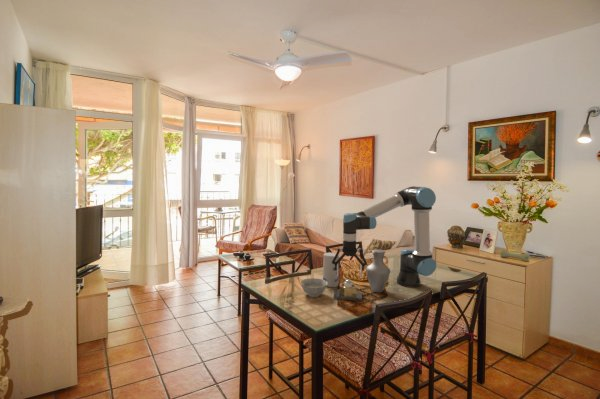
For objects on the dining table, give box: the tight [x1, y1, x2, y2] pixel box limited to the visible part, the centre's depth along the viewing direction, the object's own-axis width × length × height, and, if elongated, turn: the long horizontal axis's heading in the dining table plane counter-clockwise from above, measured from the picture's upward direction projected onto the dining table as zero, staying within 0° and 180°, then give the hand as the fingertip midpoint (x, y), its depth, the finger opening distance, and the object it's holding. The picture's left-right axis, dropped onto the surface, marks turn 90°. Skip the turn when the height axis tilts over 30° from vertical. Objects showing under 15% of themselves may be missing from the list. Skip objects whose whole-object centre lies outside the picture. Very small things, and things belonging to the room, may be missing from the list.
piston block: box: [333, 278, 363, 302], centre depth 193 cm, size 16×12×10 cm
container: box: [322, 252, 340, 288], centre depth 211 cm, size 10×10×20 cm
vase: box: [365, 248, 391, 293], centre depth 202 cm, size 14×14×25 cm
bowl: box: [299, 277, 328, 298], centre depth 193 cm, size 16×16×8 cm
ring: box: [338, 281, 358, 297], centre depth 193 cm, size 10×10×5 cm
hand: (349, 276), depth 192 cm, fingers open, 13 cm apart
